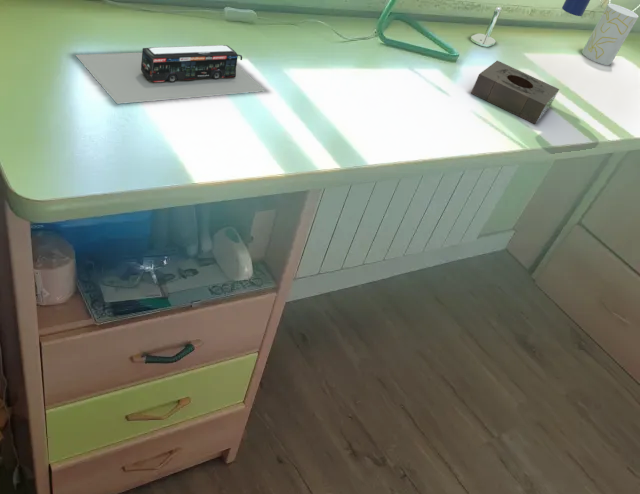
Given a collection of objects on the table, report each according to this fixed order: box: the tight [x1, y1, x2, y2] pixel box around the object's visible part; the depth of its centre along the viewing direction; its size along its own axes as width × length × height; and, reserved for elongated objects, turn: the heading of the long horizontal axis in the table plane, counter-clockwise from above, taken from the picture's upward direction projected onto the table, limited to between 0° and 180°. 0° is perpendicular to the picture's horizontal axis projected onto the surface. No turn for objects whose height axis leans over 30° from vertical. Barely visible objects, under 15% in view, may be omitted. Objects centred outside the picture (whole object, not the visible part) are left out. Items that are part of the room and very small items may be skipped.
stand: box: [470, 6, 502, 48], centre depth 143 cm, size 8×5×8 cm
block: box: [470, 60, 560, 125], centre depth 121 cm, size 14×12×4 cm
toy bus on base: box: [75, 44, 267, 105], centre depth 93 cm, size 14×25×4 cm, turn 127°
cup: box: [581, 3, 639, 66], centre depth 156 cm, size 8×8×12 cm
